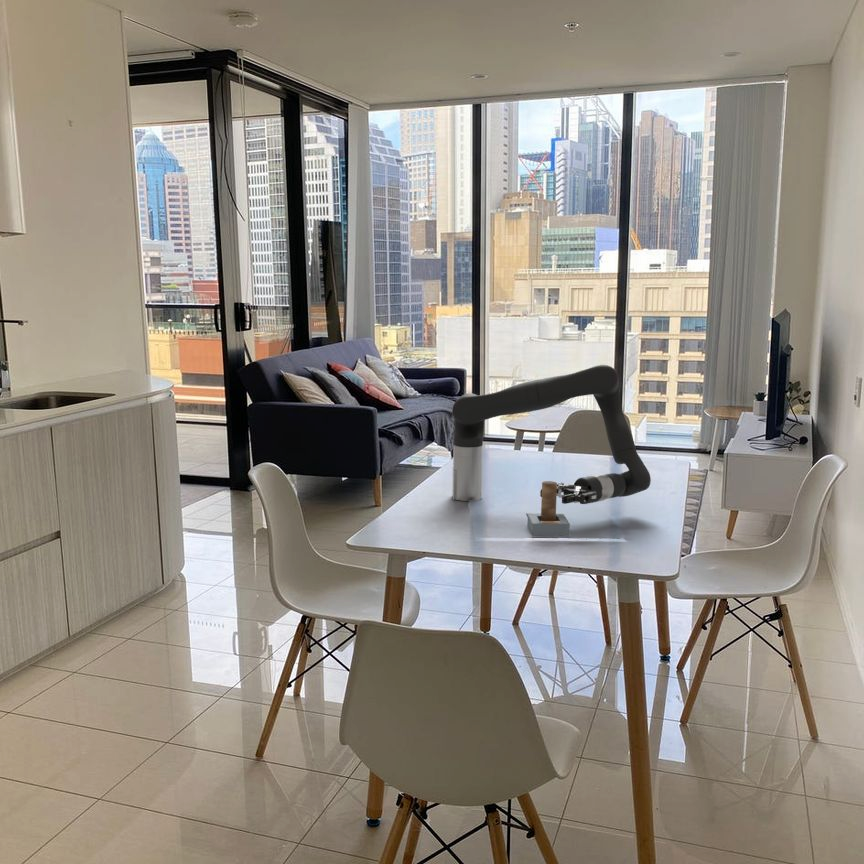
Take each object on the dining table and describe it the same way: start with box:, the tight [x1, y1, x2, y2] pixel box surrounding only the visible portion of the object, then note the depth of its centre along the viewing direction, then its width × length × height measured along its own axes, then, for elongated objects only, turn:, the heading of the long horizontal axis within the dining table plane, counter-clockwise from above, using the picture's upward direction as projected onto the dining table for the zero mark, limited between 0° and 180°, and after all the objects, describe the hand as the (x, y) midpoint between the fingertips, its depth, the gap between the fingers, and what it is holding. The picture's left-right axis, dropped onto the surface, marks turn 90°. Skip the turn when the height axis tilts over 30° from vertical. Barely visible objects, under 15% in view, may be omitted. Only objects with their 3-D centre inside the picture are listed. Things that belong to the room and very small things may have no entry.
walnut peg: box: [540, 480, 558, 521], centre depth 235 cm, size 4×4×14 cm
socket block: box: [527, 513, 571, 539], centre depth 236 cm, size 10×10×4 cm
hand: (551, 496), depth 235 cm, fingers open, 8 cm apart
